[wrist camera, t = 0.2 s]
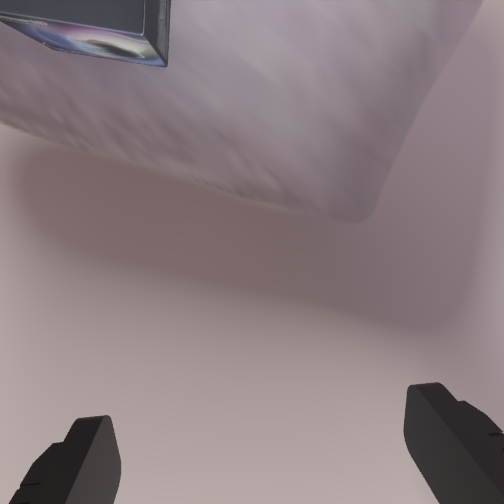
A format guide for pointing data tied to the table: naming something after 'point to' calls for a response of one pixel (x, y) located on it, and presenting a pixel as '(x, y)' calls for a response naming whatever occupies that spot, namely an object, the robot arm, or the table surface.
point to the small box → (96, 27)
